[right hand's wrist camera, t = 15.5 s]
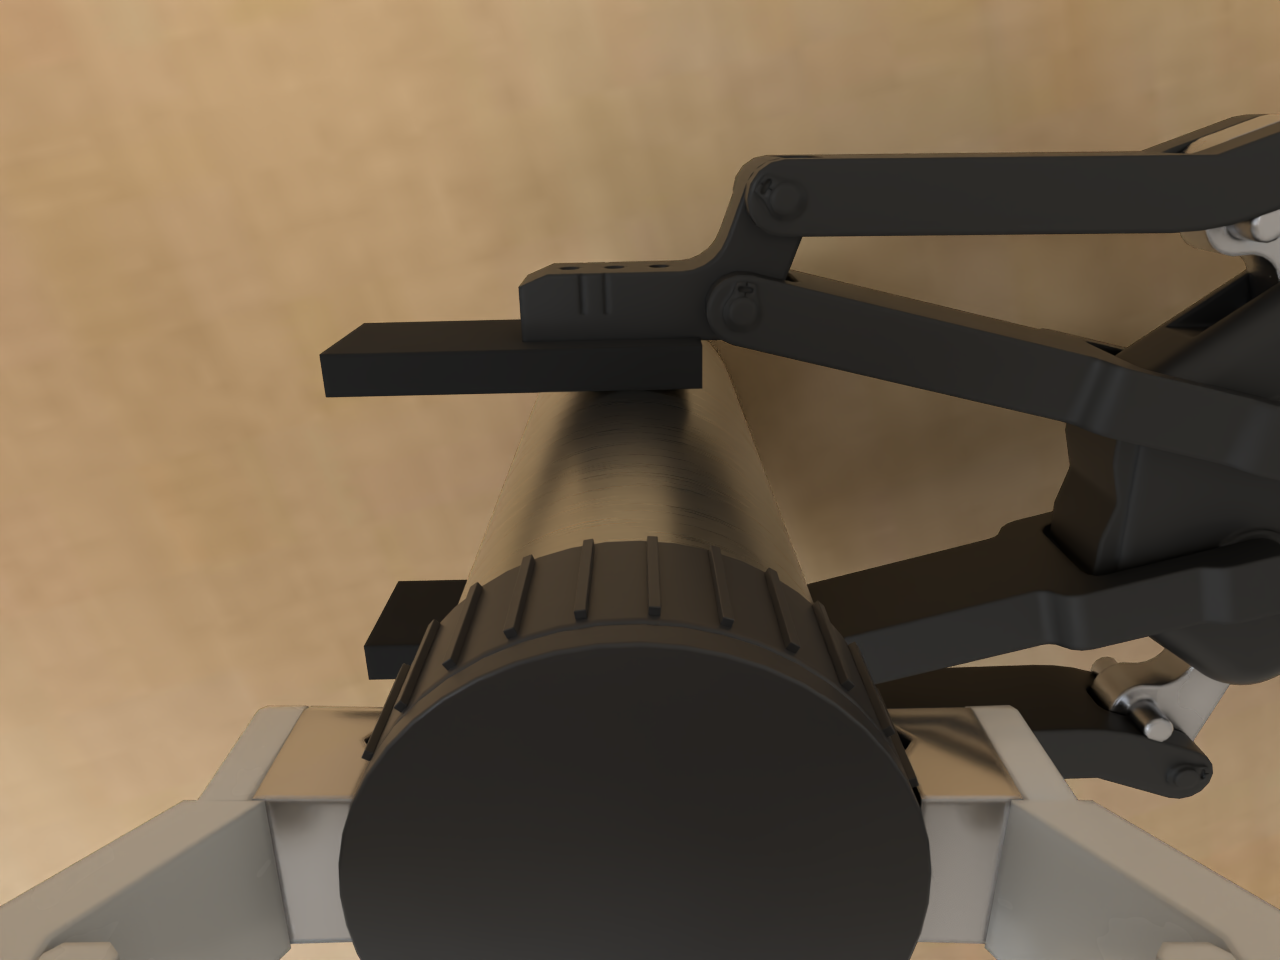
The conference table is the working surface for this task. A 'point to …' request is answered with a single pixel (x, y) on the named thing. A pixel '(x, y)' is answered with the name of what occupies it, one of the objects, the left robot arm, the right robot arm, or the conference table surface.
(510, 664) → the lid
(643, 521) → the jar
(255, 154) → the conference table surface
